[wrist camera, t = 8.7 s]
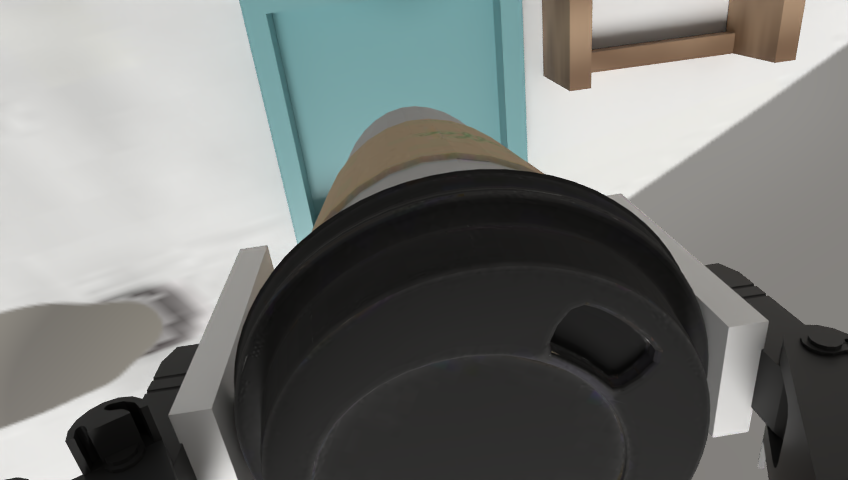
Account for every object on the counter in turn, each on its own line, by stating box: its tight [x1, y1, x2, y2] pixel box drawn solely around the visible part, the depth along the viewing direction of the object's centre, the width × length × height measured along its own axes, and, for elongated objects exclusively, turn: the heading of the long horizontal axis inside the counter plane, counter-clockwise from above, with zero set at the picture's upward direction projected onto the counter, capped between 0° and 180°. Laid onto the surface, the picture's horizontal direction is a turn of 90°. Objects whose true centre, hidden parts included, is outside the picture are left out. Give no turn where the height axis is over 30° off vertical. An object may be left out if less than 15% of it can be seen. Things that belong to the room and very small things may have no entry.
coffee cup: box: [234, 106, 710, 480], centre depth 17 cm, size 9×9×15 cm
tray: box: [239, 0, 528, 244], centre depth 34 cm, size 15×15×3 cm
